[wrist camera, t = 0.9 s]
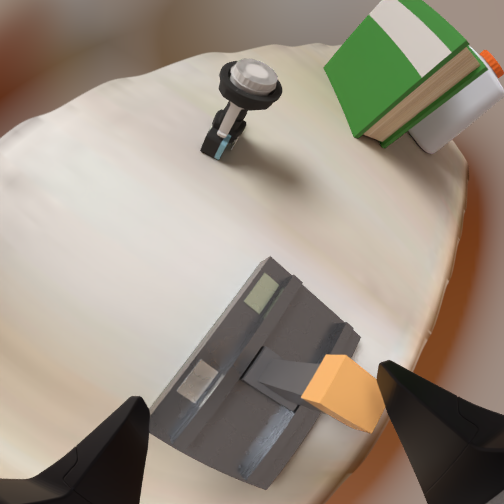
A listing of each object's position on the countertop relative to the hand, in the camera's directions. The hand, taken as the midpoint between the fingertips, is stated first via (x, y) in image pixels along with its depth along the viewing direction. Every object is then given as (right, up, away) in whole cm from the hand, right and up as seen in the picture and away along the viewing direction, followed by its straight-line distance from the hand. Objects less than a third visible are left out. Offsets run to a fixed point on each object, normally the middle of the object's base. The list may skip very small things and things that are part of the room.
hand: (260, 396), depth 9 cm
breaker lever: (+1, -5, +11) cm, 12 cm away
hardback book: (+17, +31, +32) cm, 47 cm away
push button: (-4, +17, +19) cm, 25 cm away
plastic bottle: (+36, +34, +41) cm, 65 cm away
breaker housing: (0, -6, +13) cm, 14 cm away
